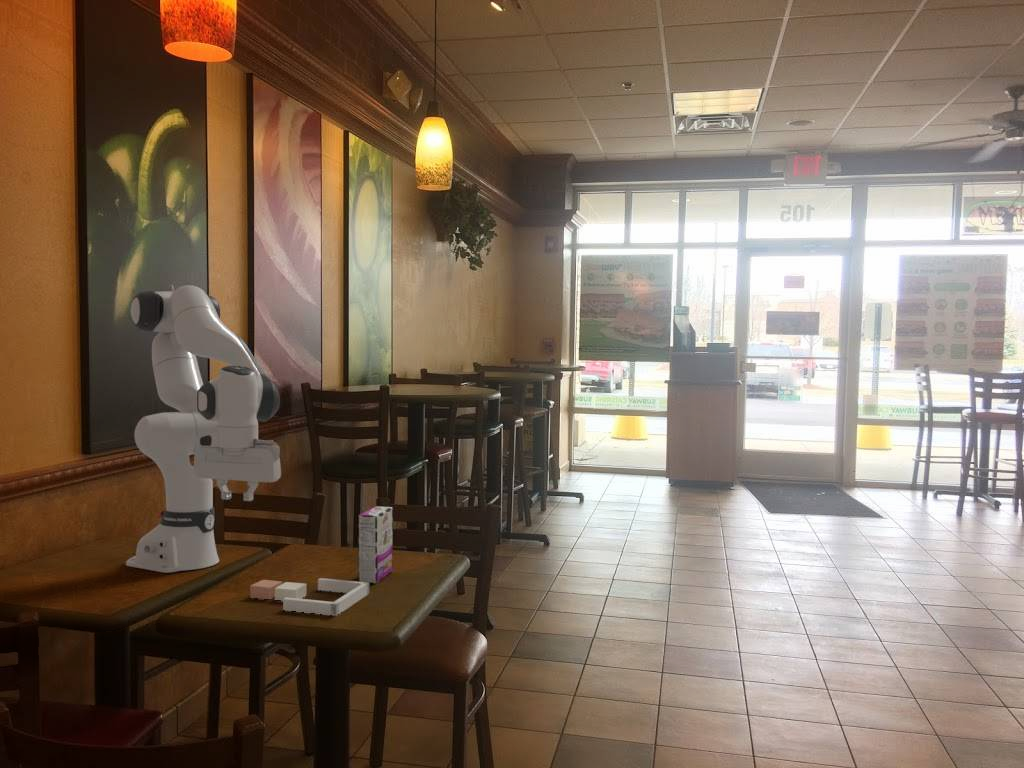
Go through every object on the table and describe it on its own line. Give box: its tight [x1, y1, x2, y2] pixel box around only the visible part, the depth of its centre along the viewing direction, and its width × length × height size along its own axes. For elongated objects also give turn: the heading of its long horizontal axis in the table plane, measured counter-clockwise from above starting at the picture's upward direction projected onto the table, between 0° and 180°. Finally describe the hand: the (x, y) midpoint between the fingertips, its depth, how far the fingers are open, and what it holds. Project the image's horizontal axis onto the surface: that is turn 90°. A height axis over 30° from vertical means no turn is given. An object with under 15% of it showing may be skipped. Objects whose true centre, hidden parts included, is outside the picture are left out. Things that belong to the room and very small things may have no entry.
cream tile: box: [274, 581, 308, 602], centre depth 176 cm, size 5×5×3 cm
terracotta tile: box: [249, 579, 284, 600], centre depth 178 cm, size 5×5×3 cm
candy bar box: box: [358, 505, 394, 584], centre depth 194 cm, size 11×5×16 cm, turn 168°
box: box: [282, 577, 370, 617], centre depth 174 cm, size 12×16×2 cm
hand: (237, 499), depth 179 cm, fingers open, 4 cm apart
